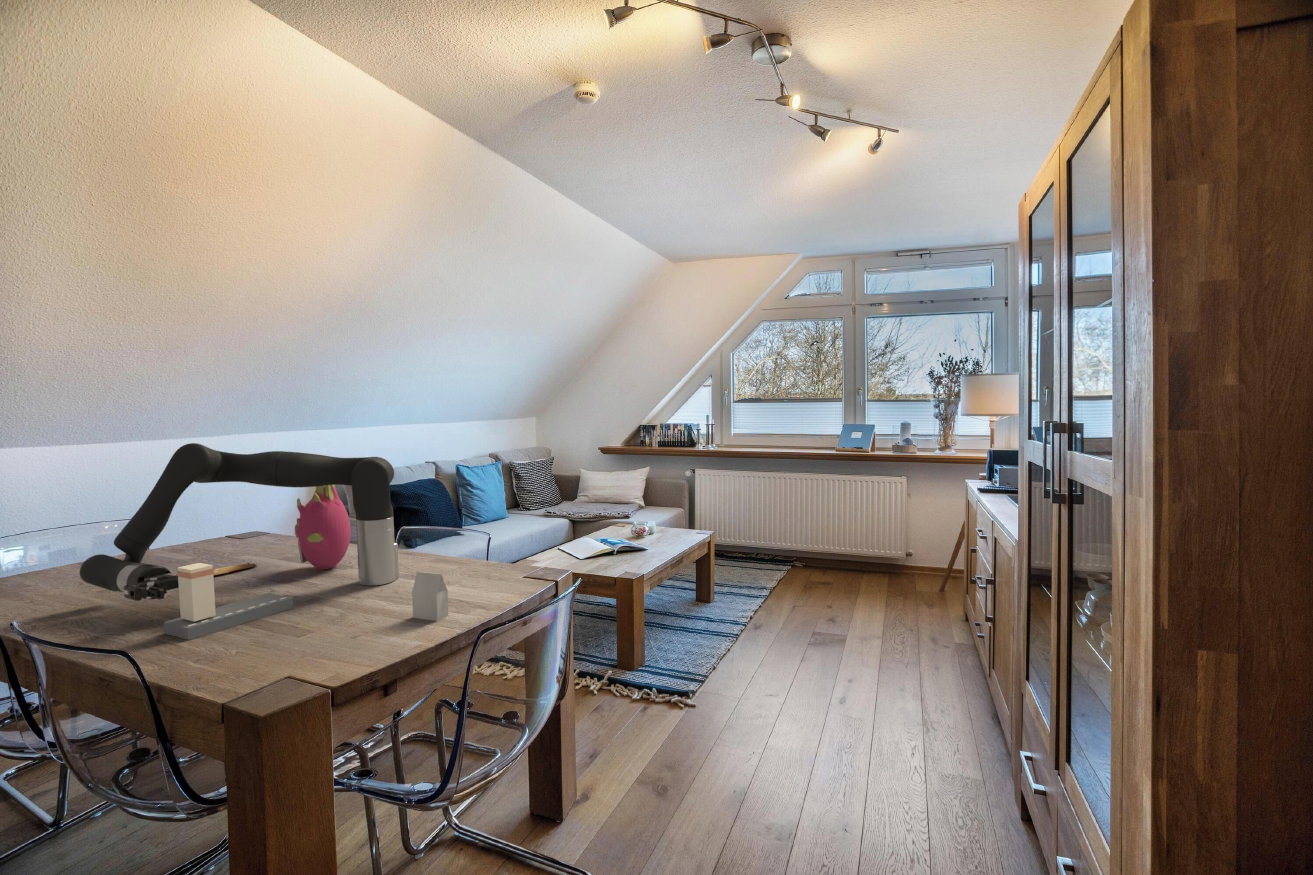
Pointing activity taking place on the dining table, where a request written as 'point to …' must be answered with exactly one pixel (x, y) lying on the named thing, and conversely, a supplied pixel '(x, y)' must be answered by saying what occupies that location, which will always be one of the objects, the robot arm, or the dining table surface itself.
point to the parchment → (232, 568)
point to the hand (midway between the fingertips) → (184, 588)
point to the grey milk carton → (429, 597)
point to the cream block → (196, 591)
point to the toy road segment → (229, 616)
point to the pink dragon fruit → (323, 528)
